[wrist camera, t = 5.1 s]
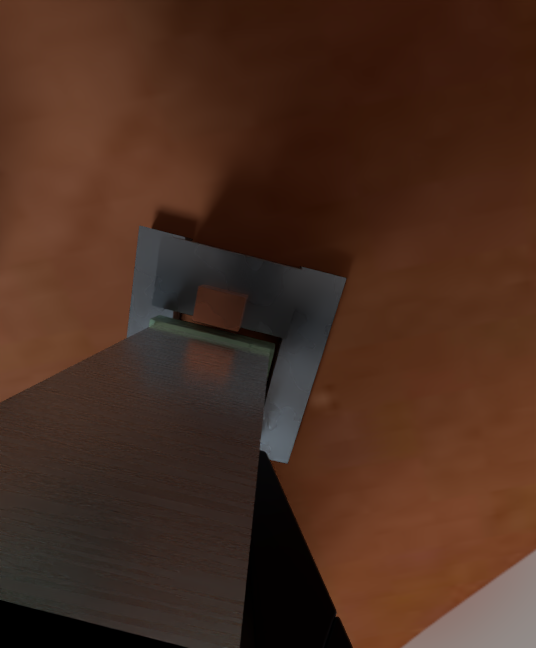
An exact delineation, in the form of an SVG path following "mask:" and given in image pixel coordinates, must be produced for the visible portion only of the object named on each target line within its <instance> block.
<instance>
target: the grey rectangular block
mask: <svg viewBox="0 0 536 648" xmlns="http://www.w3.org/2000/svg"><path fill="white" fill-rule="evenodd" d="M274 351H275V343H271V342H267V341H263V340H259V339H255V338H251V337H247V336H243V335H239V334H235V333H231V332H227V331H223V330H219V329H215V328H211V327H207V326H203V325H199V324H194V323H190V322H186V321H182V320H178V319H174V318H170V317H166V316H162V315H158V316H156V317H153V318H151V319H150V322H149V327H148V328H146V329H144V330H142V331H140V332H138V333H136V334H134V335H132V336H130V337H128V338H126V339H124V340H122V341H120V342H118V343H116V344H114V345H112V346H110V347H108V348H106V349H104V350H103V351H101V352H99V353H97V354H95V355H93V356H91V357H89V358H87V359H85V360H83V361H81V362H79V363H77V364H75V365H73V366H71V367H69V368H67V369H65V370H63V371H61V372H59V373H57V374H55V375H53V376H51V377H50V378H48V379H46V380H44V381H42V382H40V383H38V384H36V385H34V386H32V387H30V388H28V389H26V390H24V391H22V392H20V393H18V394H16V395H14V396H12V397H10V398H8V399H6V400H4V401H2V402H0V648H240V639H241V629H242V619H243V609H244V599H245V590H246V580H247V570H248V560H249V550H250V540H251V530H252V520H253V510H254V501H255V491H256V481H257V471H258V461H259V451H260V441H261V431H262V422H263V412H264V402H265V392H266V382H267V377H268V374H269V370H270V366H271V362H272V359H273V355H274Z"/></svg>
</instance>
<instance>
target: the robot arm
mask: <svg viewBox="0 0 536 648" xmlns="http://www.w3.org/2000/svg"><path fill="white" fill-rule="evenodd" d="M240 648H353V647H352V645H351V642H350V640H349V638H348V636H347V633H346V631H345V629H344V626H343V624H342V622H341V620H340V618H339V617H336V609H335V606H334V604H333V602H332V600H331V597H330V595H329V593H328V591H327V588H326V586H325V584H324V582H323V579H322V577H321V575H320V573H319V570H318V568H317V566H316V564H315V561H314V559H313V557H312V555H311V552H310V550H309V548H308V546H307V543H306V541H305V539H304V537H303V534H302V532H301V530H300V528H299V525H298V523H297V521H296V518H295V516H294V514H293V512H292V509H291V507H290V505H289V503H288V500H287V498H286V496H285V494H284V491H283V489H282V487H281V485H280V482H279V480H278V478H277V476H276V473H275V471H274V469H273V467H272V464H271V462H270V460H269V458H268V455H267V453H266V452H265V451H262V450H260V451H259V461H258V471H257V481H256V491H255V501H254V510H253V520H252V530H251V540H250V550H249V560H248V570H247V580H246V590H245V599H244V609H243V619H242V629H241V639H240Z"/></svg>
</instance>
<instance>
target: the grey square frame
mask: <svg viewBox="0 0 536 648" xmlns="http://www.w3.org/2000/svg"><path fill="white" fill-rule="evenodd" d="M192 240H193V239H190V238H186V237H183V236H179V235H175V234H171V233H167V232H163V231H159V230H155V229H151V228H147V227H143V226H139V235H138V244H137V252H136V261H135V270H134V279H133V288H132V297H131V306H130V314H129V323H128V332H127V338H128V337H130V336H132V335H134V334H136V333H138V332H140V331H142V330H144V329H146V328H148V327H149V322H150V319H151V318H153V317H156V316H158V315H162V316H166V317H170V318H174V319H178V320H180V313H184V314H188V315H192V316H193V319H192V321H196V322H200V323H204V324H208V325H212V326H216V327H220V328H224V329H228V330H232V331H236V332H238V331H239V330H240V328H244V329H248V330H253V331H257V332H261V333H265V334H269V335H273V336H277V337H281V339H280V343H279V347H278V350H277V354H276V358H275V362H274V365H273V369H272V373H271V376H270V380H269V384H268V387H267V391H266V395H265V402H264V412H263V422H262V431H261V441H260V450H262V451H265V452H266V453H267V455H268V458H269V459H270V460H274V461H278V462H282V463H287V464H288V461H289V458H290V454H291V451H292V448H293V445H294V442H295V439H296V436H297V432H298V429H299V426H300V423H301V420H302V417H303V414H304V410H305V407H306V404H307V401H308V398H309V395H310V392H311V388H312V385H313V382H314V379H315V376H316V373H317V370H318V366H319V363H320V360H321V357H322V354H323V351H324V348H325V344H326V341H327V338H328V335H329V332H330V329H331V325H332V322H333V319H334V316H335V313H336V310H337V307H338V303H339V300H340V297H341V294H342V291H343V288H344V285H345V281H346V278H344V277H340V276H336V275H332V274H328V273H325V272H321V271H317V270H313V269H309V268H305V267H301V266H300V269H299V268H296V267H292V266H288V265H284V264H280V263H276V262H272V261H268V260H264V259H260V258H256V257H253V256H249V255H245V254H241V253H237V252H233V251H229V250H225V249H221V248H217V247H213V246H209V245H205V244H201V243H197V242H193V241H192Z"/></svg>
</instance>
